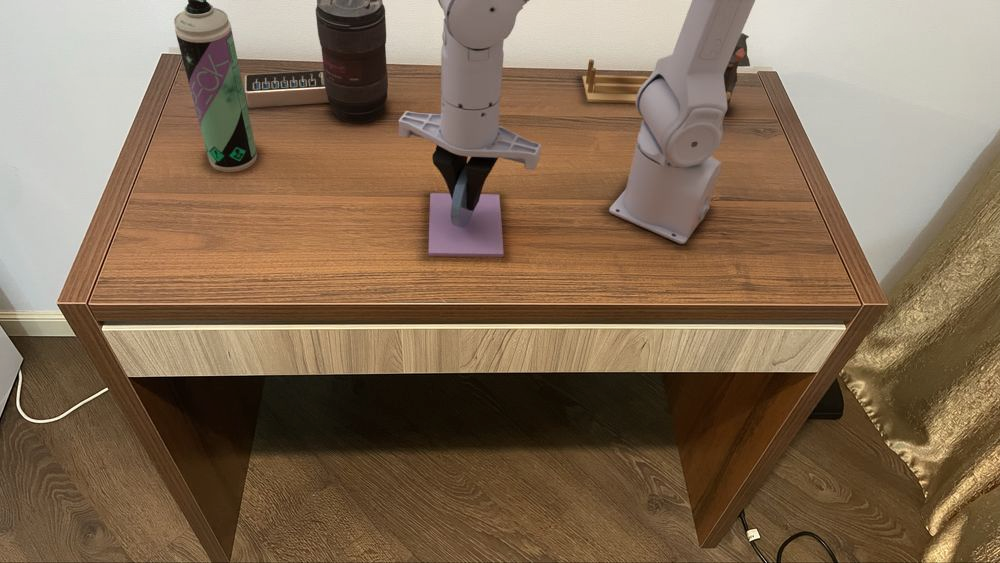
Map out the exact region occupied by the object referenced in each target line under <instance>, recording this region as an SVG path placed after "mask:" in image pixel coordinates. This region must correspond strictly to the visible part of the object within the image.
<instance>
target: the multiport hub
mask: <svg viewBox="0 0 1000 563" xmlns="http://www.w3.org/2000/svg"><path fill="white" fill-rule="evenodd" d="M244 93H245V98H246V103H247V108H248V109H253V108H254V109H255V108H269V107H285V106H286V107H287V106H299V105H316V104H328V103H329V101H328V96H327V92H326V88H325V82H324V69H319V70H304V71H286V72H268V73H267V72H266V73H251V74H246V75H245V76H244ZM329 104H330V103H329Z"/></svg>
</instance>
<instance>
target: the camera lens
mask: <svg viewBox="0 0 1000 563" xmlns="http://www.w3.org/2000/svg"><path fill="white" fill-rule="evenodd" d="M315 18H316V27H317V36H318V40H319V45H320V48H321V56H322V64H323V65H322V66H323V70H324V82H325V88H326V92H327V96H328V101H329V105H331V107H332V112H333V114H334V115H335V116H336V117H337V118H338V119H340V120H341V121H344V122H347V123H353V124H354V123H355V124H356V123H357V124H358V123H359V124H360V123H361V124H362V123H368V122H371V121H374V120H377V119H378V118H380V117H381V116H382V115H383V114H384V112H385V109H386V102H387V100H388V91H389V90H388V88H389V80H388V68H387V67H388V66H387V54H386V53H387V49H386V44H387V23H386V22H387V20H386V8H385V5H384V3H383V0H316V7H315Z"/></svg>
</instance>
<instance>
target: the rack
mask: <svg viewBox="0 0 1000 563" xmlns="http://www.w3.org/2000/svg"><path fill="white" fill-rule="evenodd" d="M594 65H595V60H594V59H589V60H588V65H587V71H586V75H582V79H581V80H582V83H583V87H584V92H585V96H586V101H587V103H603V104H605V103H606V104H609V103H610V104H635V105H636V96H637V93H638V91H639V89H640V88H641V86H642V85H643V84H644V82H645V81H646V80H647V79H648V78H649V77H650V76H647V75H646V76H644V75H643V76H642V75H616V74H615V75H614V74H597V68H596V67H594Z"/></svg>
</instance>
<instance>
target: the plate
mask: <svg viewBox="0 0 1000 563" xmlns="http://www.w3.org/2000/svg"><path fill="white" fill-rule="evenodd" d="M465 166H466V165H465ZM465 166H464V168H463V170H462V171H461V173H460V176H459V178H458V181H457V183H456V187H455V190H454V194H453V198H452V204H451V222H452V224H453V225H454V226H457V227H460V228H464V227H465V226H466V225H467V224H468V222H469V220H470V219H471V216H472V214H473V212H474V211H471V210H467V195H468V182H467V175H466V171H465Z"/></svg>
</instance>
